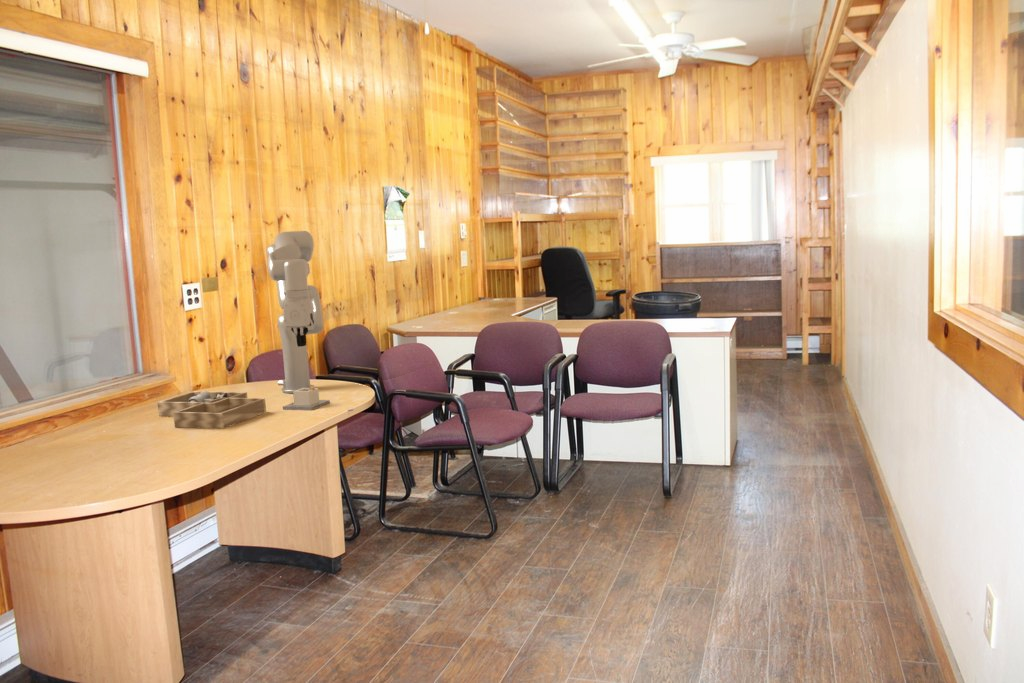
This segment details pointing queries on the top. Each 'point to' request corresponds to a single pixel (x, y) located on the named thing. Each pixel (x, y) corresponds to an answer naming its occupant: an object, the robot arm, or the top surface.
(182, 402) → the tray
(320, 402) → the plate
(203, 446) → the top surface
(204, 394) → the clip-on lamp
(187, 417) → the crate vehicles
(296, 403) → the grey block
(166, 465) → the top surface
